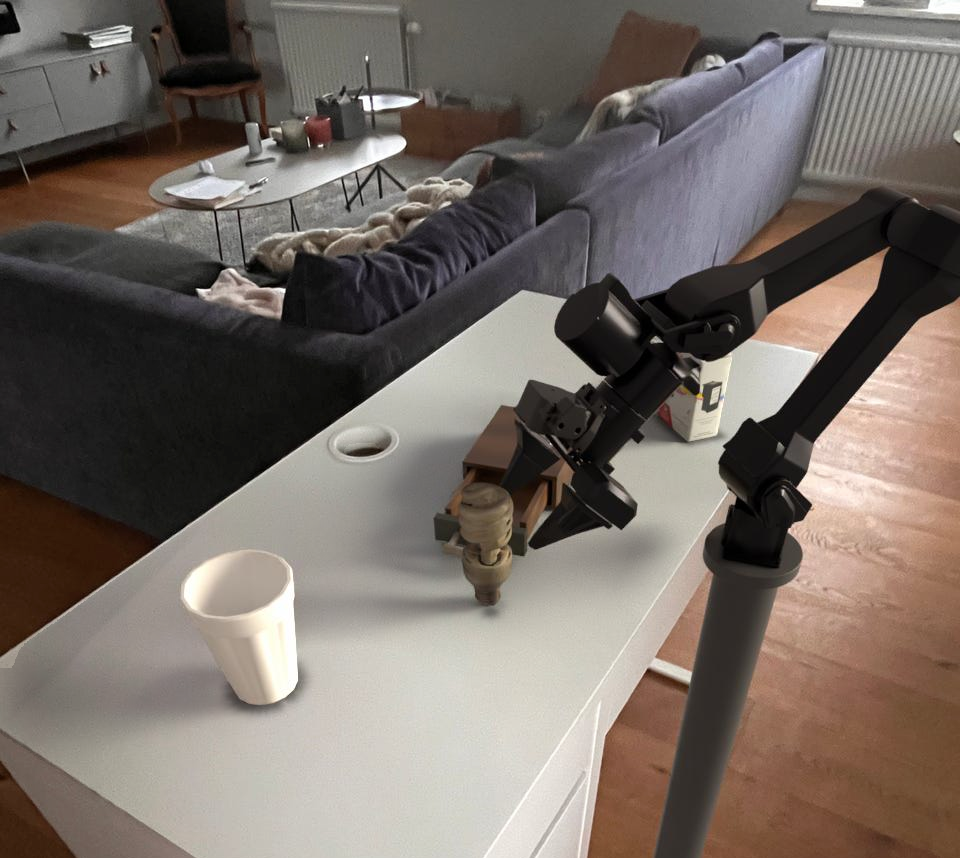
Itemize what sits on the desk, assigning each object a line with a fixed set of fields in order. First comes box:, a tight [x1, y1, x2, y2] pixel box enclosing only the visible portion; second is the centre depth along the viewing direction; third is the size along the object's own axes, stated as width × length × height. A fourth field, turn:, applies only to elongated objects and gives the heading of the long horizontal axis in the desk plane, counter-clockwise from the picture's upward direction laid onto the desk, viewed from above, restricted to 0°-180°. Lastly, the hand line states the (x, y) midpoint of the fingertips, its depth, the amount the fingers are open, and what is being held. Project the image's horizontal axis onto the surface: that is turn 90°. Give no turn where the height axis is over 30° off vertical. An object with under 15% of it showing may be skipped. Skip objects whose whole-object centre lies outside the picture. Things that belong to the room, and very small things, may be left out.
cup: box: [178, 548, 299, 706], centre depth 77 cm, size 10×10×13 cm
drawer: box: [433, 467, 553, 559], centre depth 98 cm, size 18×11×3 cm, turn 160°
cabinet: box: [461, 404, 580, 511], centre depth 107 cm, size 15×12×5 cm
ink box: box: [657, 352, 733, 443], centre depth 112 cm, size 9×5×12 cm, turn 21°
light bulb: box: [458, 482, 513, 607], centre depth 84 cm, size 6×6×15 cm
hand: (514, 521), depth 83 cm, fingers open, 9 cm apart
